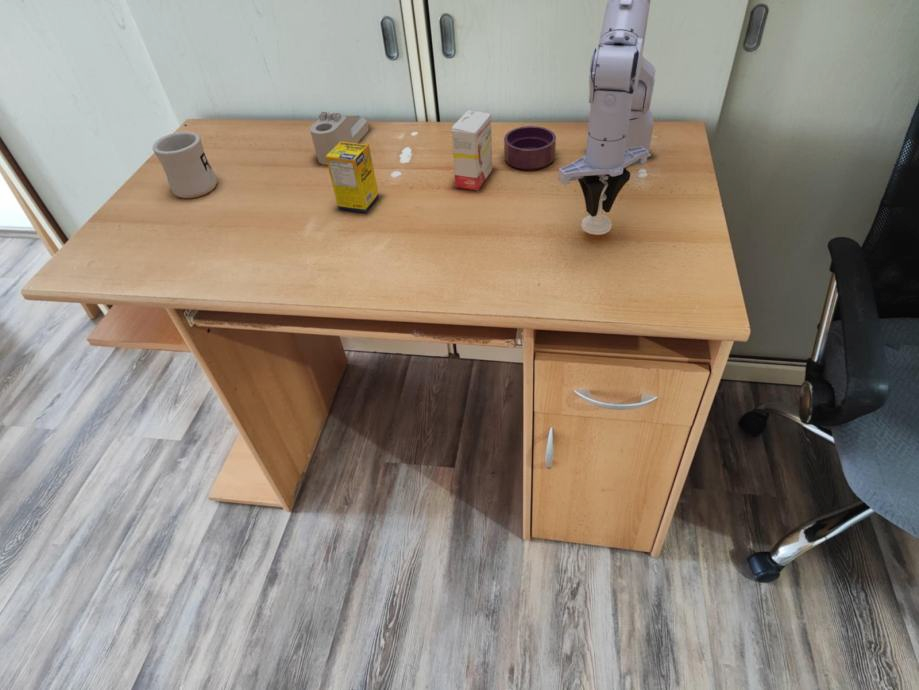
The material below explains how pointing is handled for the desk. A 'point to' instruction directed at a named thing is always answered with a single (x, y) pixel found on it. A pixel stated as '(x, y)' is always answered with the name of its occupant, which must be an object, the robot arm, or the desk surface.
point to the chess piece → (598, 216)
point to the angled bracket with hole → (336, 132)
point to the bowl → (529, 147)
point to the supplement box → (352, 176)
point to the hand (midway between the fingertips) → (597, 211)
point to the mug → (185, 164)
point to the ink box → (472, 149)
